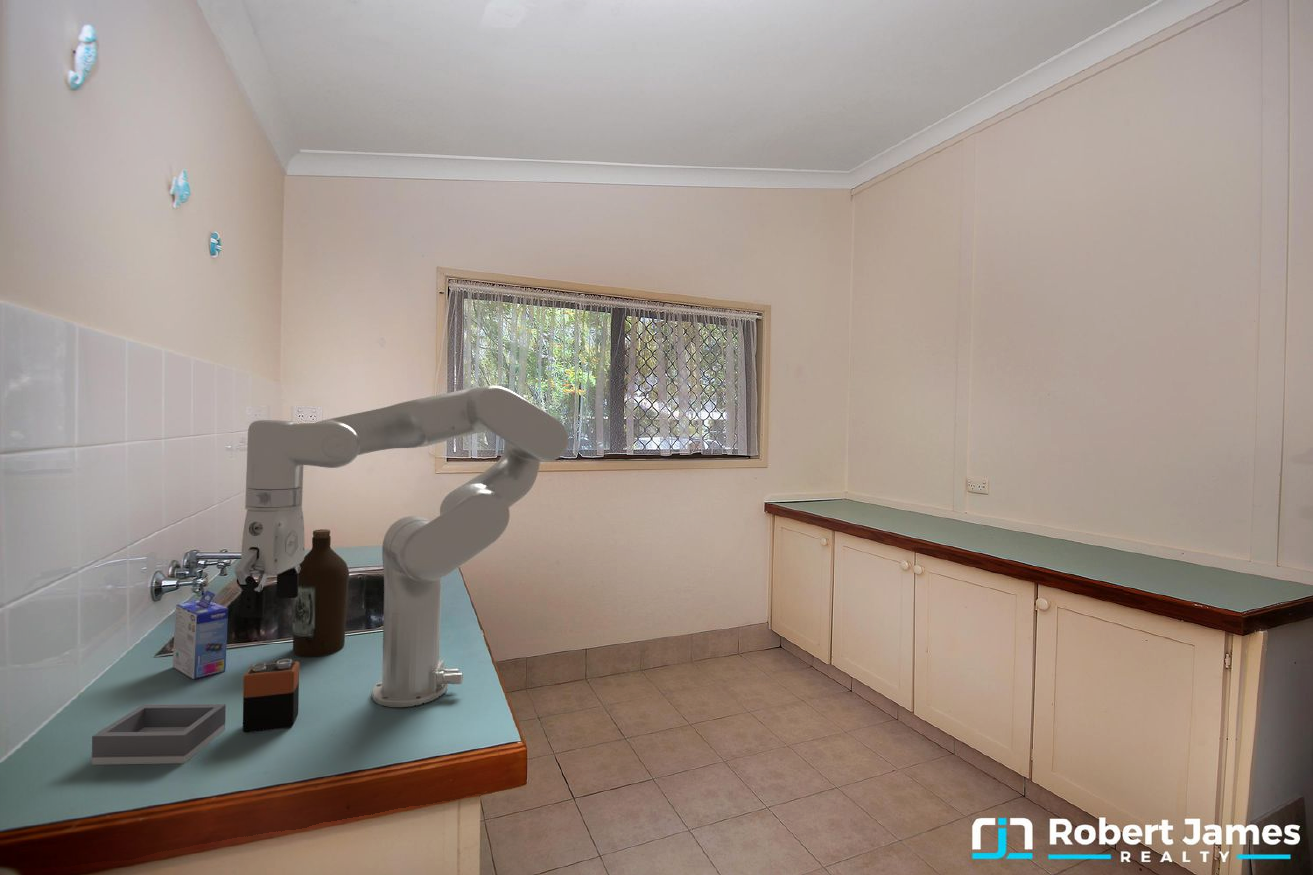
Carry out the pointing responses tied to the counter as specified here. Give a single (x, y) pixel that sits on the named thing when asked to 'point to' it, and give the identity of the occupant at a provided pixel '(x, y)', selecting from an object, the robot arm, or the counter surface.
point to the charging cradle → (159, 734)
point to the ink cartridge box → (200, 637)
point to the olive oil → (320, 600)
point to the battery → (270, 696)
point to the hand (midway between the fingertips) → (270, 606)
